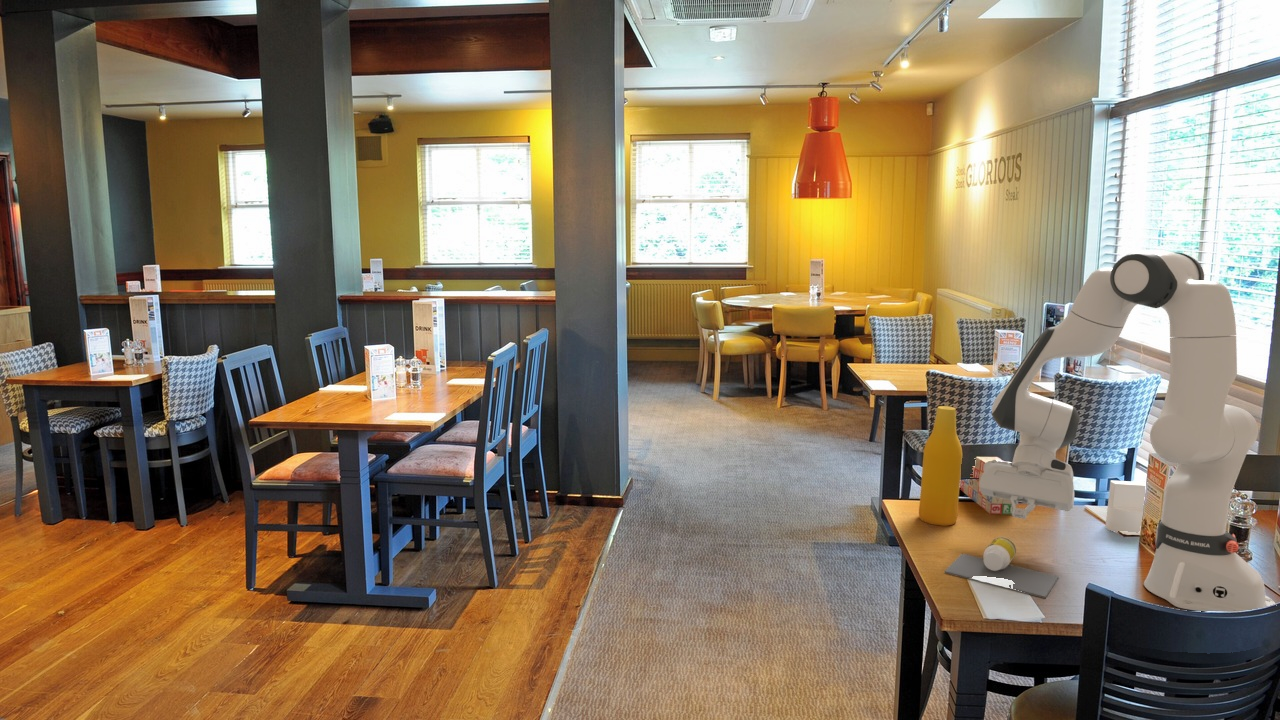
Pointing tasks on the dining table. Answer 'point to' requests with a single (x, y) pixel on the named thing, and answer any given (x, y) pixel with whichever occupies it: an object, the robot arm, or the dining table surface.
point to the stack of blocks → (973, 491)
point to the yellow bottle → (941, 471)
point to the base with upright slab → (1125, 506)
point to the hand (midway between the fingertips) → (1018, 516)
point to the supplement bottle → (999, 553)
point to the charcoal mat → (1005, 575)
